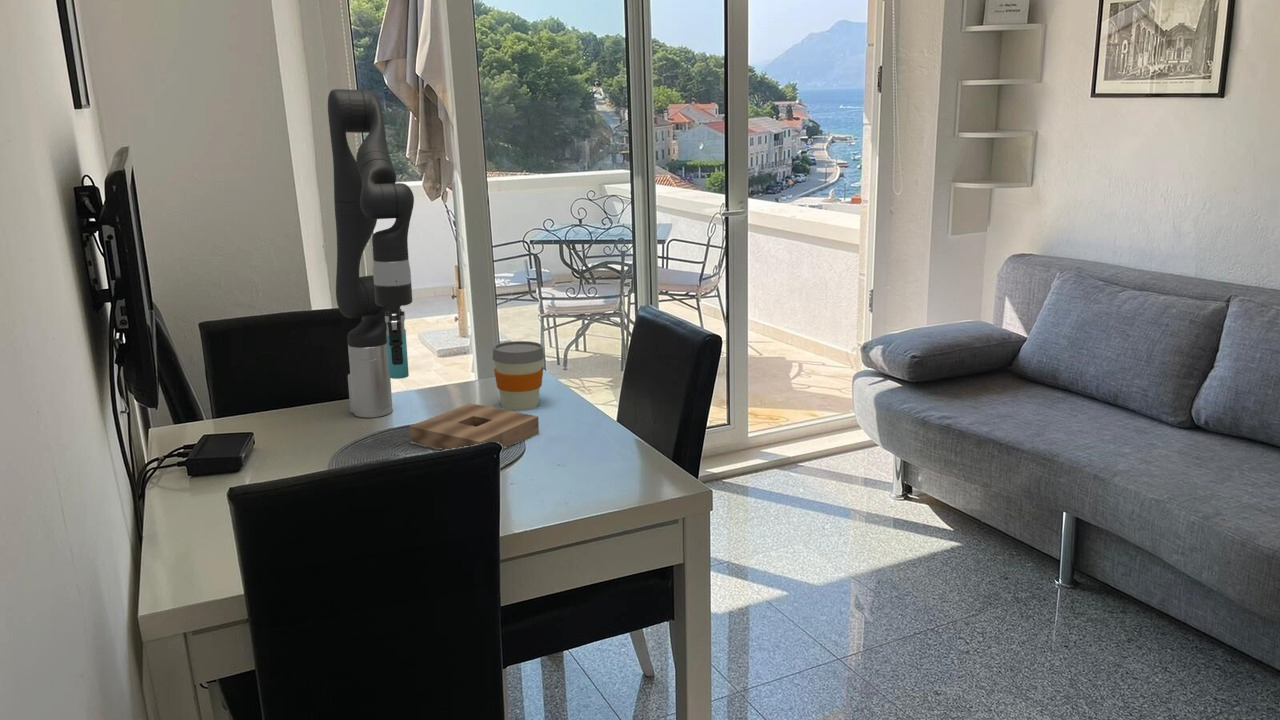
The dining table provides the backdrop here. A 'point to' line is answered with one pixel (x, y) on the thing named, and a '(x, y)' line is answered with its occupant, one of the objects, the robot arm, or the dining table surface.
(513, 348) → the reusable coffee cup
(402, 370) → the peg
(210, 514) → the dining table surface
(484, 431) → the socket block
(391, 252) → the robot arm
